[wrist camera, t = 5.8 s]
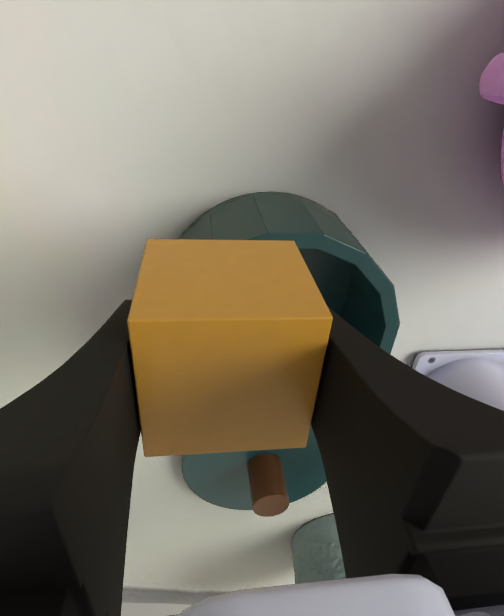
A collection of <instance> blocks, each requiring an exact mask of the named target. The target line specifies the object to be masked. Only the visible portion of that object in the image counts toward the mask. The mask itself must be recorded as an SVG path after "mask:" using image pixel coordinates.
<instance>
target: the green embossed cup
mask: <svg viewBox="0 0 504 616" xmlns="http://www.w3.org/2000/svg"><path fill="white" fill-rule="evenodd" d="M291 549H292V558H293V567H294V572H295V584H301V583H311V582H320V581H329V580H339V579H346V576H345V570H344V564H343V558H342V553H341V548H340V542H339V537H338V532H337V527H336V521H335V517H334V514H331V515H327V516H323V517H320V518H317V519H315V520H313V521H311V522H309V523H307V524H305V525H304V526H303V527H301V528H300V529H299V530H298V531H297V532H296V533H295V534H294V536H293V538H292V543H291Z"/></svg>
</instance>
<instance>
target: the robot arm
mask: <svg viewBox="0 0 504 616" xmlns="http://www.w3.org/2000/svg"><path fill="white" fill-rule="evenodd" d="M131 303H132V300H125V301H124V302H123V303H122V304H121V305H120V306H119V307H118V308H117V310H116V311H115V312H114V313H113V314H112V316H111V317H110V318H109V319H108V320H107V321H106V322H105V323H104V325H103V326H102V327H101V328H100V329H99V330H98V331H97V332H96V333H95V334H94V335H93V336H92V337H91V338H90V340H89V341H88V342H87V343H86V344H85V345H84V346H82V347H81V348H80V349H79V350H78V351H77V352H76V353H75V354H74V355H73V356H72V357H71V358H70V359H69V360H68V361H66V362H65V363H64V364H63V365H62V366H61V367H59V368H58V369H57V370H56V371H54V372H53V373H52V374H51V375H49V376H48V377H47V378H45V379H44V380H43V381H41V382H40V383H39V384H37V385H36V386H34V387H33V388H31V389H30V390H28V391H27V392H25V393H24V394H22V395H21V396H19V397H18V398H16V399H15V400H13V401H12V402H10V403H9V404H7V405H6V406H4V407H2V408H1V409H0V616H121V604H122V590H123V577H124V565H125V553H126V541H127V530H128V519H129V509H130V498H131V489H132V479H133V470H134V463H135V457H136V451H137V446H138V441H139V437H140V432H141V427H140V419H139V411H138V403H137V395H136V387H135V379H134V372H133V364H132V356H131V348H130V340H129V332H128V324H127V320H128V316H129V311H130V307H131ZM327 307H328V306H327ZM328 309H329V311H330V313H331V315H332V317H333V320H332V325H331V329H330V334H329V339H328V344H327V349H326V353H325V358H324V363H323V368H322V373H321V377H320V382H319V387H318V392H317V397H316V401H315V406H314V411H313V416H312V421H311V426H312V429H313V432H314V435H315V438H316V441H317V444H318V447H319V451H320V454H321V458H322V462H323V467H324V471H325V475H326V479H327V484H328V488H329V493H330V498H331V502H332V507H333V512H334V517H335V521H336V527H337V532H338V537H339V542H340V548H341V553H342V558H343V564H344V570H345V576H346V579H339V580H329V581H320V582H311V583H301V584H292V585H282V586H273V587H263V588H254V589H244V590H238V591H233V592H229V593H224V594H220V595H216V596H211V597H207V598H205V599H203V600H201V601H199V602H197V603H196V604H194V605H192V606H190V607H189V608H187V609H185V610H183V611H182V612H181V613H180V614H179V615H170V616H504V349H496V350H465V351H433V352H421V353H419V354H418V355H417V356H416V358H415V360H414V363H413V366H412V368H411V367H409V366H408V365H406V364H404V363H403V362H401V361H399V360H398V359H396V358H394V357H393V356H391V355H390V354H388V353H387V352H385V351H384V350H383V349H381V348H380V347H378V346H377V345H376V344H374V343H373V342H371V341H370V340H369V339H367V338H366V337H365V336H363V335H362V334H361V333H360V332H358V331H357V330H356V329H355V328H353V327H352V326H351V325H350V324H348V323H347V322H346V321H345V320H344V319H342V318H341V317H340V316H339V315H338V314H336V313H335V312H334V311H333V310H332V309H331V308H329V307H328ZM430 358H431V359H430Z"/></svg>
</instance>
